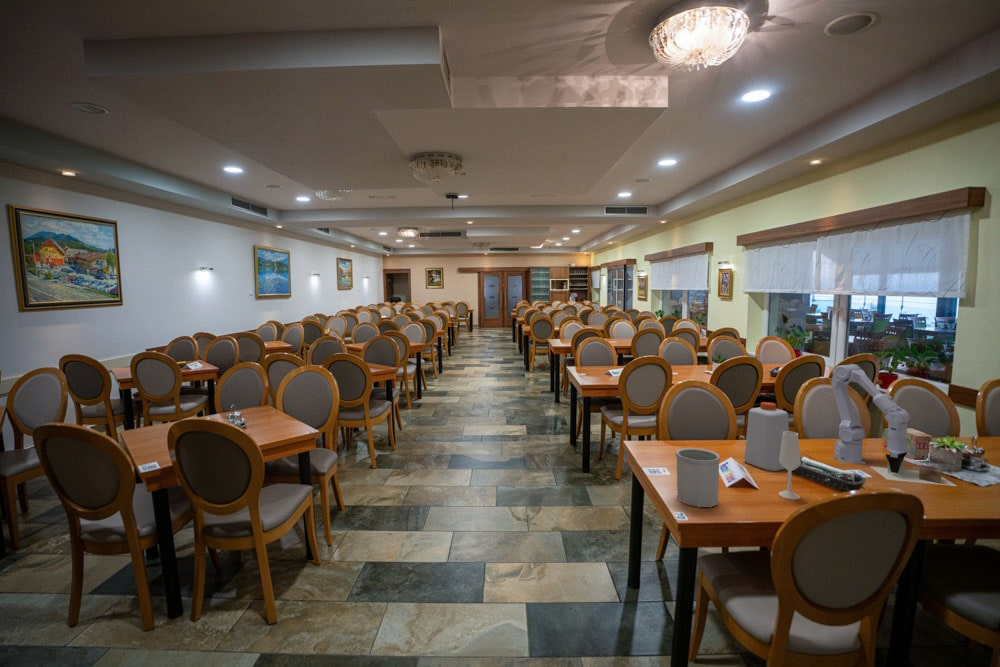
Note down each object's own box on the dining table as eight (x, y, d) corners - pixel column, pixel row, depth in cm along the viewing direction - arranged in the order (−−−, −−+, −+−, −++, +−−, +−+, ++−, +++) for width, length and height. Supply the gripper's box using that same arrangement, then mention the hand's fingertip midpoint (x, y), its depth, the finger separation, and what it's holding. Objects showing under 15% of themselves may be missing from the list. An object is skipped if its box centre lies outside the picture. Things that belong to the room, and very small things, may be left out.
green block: (887, 472, 181) (887, 460, 180) (889, 469, 184) (889, 458, 183) (902, 475, 177) (902, 463, 177) (903, 472, 180) (904, 460, 180)
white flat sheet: (887, 480, 174) (887, 479, 173) (869, 467, 188) (869, 466, 188) (957, 487, 166) (957, 485, 166) (933, 473, 180) (933, 471, 180)
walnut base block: (919, 479, 173) (919, 468, 173) (920, 475, 177) (921, 464, 177) (940, 483, 169) (940, 472, 168) (941, 479, 173) (941, 468, 172)
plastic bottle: (771, 473, 183) (772, 408, 181) (740, 461, 197) (741, 401, 195) (795, 467, 189) (796, 405, 187) (762, 457, 203) (764, 398, 201)
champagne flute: (804, 497, 160) (805, 434, 158) (790, 500, 158) (792, 436, 156) (787, 490, 166) (789, 429, 165) (774, 493, 164) (775, 431, 163)
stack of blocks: (883, 446, 214) (884, 422, 214) (897, 447, 213) (898, 423, 212) (915, 462, 194) (916, 435, 193) (931, 462, 192) (932, 435, 191)
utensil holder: (670, 490, 168) (670, 446, 167) (710, 491, 166) (710, 447, 165) (682, 508, 153) (683, 460, 152) (726, 509, 152) (727, 461, 151)
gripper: (908, 444, 172) (906, 477, 173) (912, 436, 181) (910, 468, 182) (884, 440, 177) (883, 472, 178) (889, 433, 187) (888, 463, 188)
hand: (895, 469), depth 180 cm, fingers open, 7 cm apart
